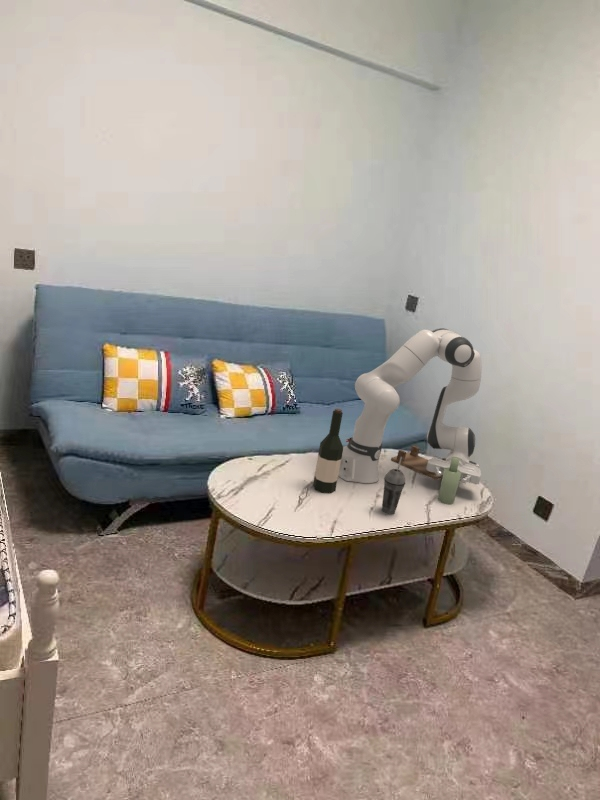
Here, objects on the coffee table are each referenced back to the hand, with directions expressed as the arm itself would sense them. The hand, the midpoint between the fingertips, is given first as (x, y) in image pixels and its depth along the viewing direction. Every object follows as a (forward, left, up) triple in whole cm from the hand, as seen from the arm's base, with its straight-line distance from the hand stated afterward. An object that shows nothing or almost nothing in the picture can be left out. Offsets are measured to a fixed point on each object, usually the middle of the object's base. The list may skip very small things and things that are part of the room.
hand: (451, 477), depth 230 cm
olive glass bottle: (+1, -2, -8) cm, 9 cm away
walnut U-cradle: (-22, +19, -8) cm, 30 cm away
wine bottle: (-30, -36, -9) cm, 48 cm away
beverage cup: (-6, -30, -9) cm, 32 cm away
